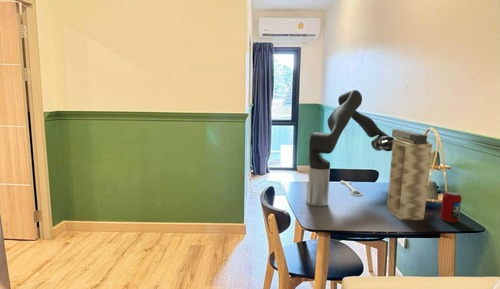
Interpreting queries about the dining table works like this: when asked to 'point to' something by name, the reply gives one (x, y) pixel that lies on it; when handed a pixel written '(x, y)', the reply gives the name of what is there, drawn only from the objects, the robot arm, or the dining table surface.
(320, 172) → the robot arm
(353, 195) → the wrench
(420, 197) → the beige patterned box
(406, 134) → the gray block
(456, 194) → the beverage can
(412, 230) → the dining table surface
